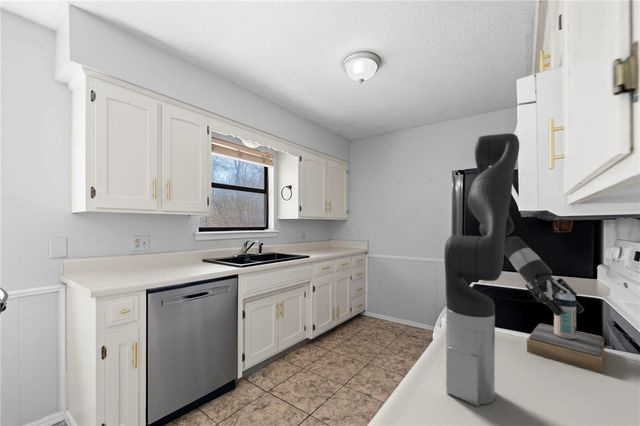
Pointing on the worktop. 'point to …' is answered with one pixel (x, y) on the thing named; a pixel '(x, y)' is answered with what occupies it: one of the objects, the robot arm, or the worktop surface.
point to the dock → (568, 347)
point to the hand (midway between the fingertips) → (571, 313)
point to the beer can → (565, 316)
